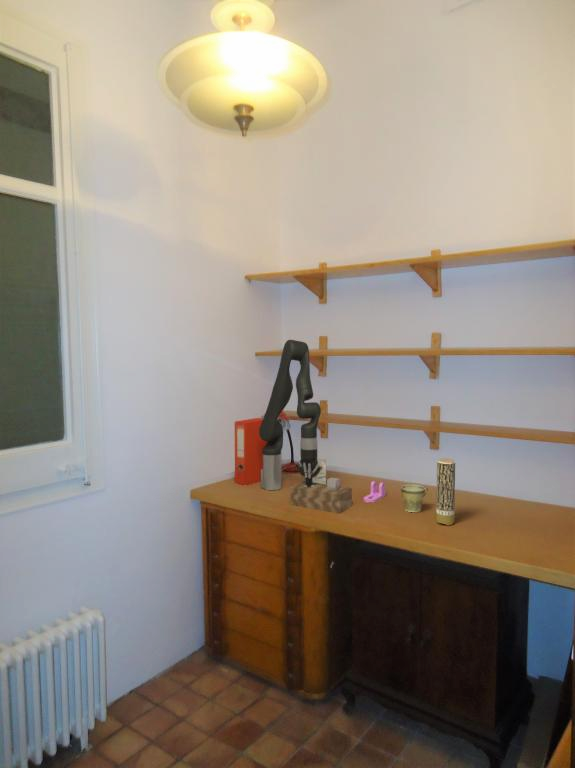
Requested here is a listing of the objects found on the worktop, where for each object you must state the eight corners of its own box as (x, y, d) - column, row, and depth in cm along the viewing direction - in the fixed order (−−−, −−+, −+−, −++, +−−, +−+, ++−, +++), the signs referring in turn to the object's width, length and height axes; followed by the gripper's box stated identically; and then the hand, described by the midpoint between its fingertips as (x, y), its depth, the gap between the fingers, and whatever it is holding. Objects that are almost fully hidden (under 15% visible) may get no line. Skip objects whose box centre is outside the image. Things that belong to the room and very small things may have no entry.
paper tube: (434, 520, 210) (435, 458, 208) (451, 520, 210) (452, 458, 208) (438, 526, 203) (439, 462, 202) (456, 526, 203) (457, 462, 201)
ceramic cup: (410, 515, 216) (411, 492, 215) (395, 509, 225) (396, 486, 224) (435, 511, 221) (435, 488, 220) (420, 505, 230) (420, 482, 229)
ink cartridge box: (308, 490, 255) (308, 460, 254) (308, 487, 260) (308, 458, 259) (325, 490, 255) (325, 460, 253) (326, 487, 259) (326, 458, 258)
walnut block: (290, 504, 232) (290, 487, 231) (303, 498, 242) (303, 481, 241) (339, 513, 219) (340, 494, 219) (351, 505, 229) (351, 488, 229)
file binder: (269, 479, 276) (268, 419, 274) (246, 486, 263) (245, 422, 261) (258, 476, 282) (257, 417, 279) (235, 483, 269) (234, 421, 266)
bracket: (374, 494, 247) (374, 480, 247) (385, 496, 244) (385, 482, 243) (361, 501, 237) (361, 486, 236) (372, 503, 233) (372, 488, 233)
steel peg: (327, 495, 226) (327, 479, 226) (331, 493, 230) (331, 477, 229) (335, 496, 224) (335, 480, 224) (339, 494, 228) (339, 478, 227)
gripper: (291, 447, 232) (292, 485, 233) (318, 450, 225) (318, 489, 226) (300, 444, 238) (300, 482, 240) (326, 447, 232) (326, 485, 233)
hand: (309, 485), depth 233 cm, fingers closed
